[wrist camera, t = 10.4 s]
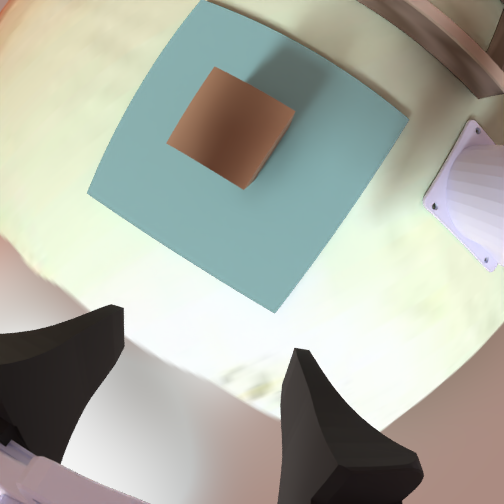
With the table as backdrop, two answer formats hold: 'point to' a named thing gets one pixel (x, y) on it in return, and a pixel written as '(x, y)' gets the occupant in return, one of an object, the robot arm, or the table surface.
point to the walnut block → (231, 127)
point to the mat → (273, 172)
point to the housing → (449, 43)
